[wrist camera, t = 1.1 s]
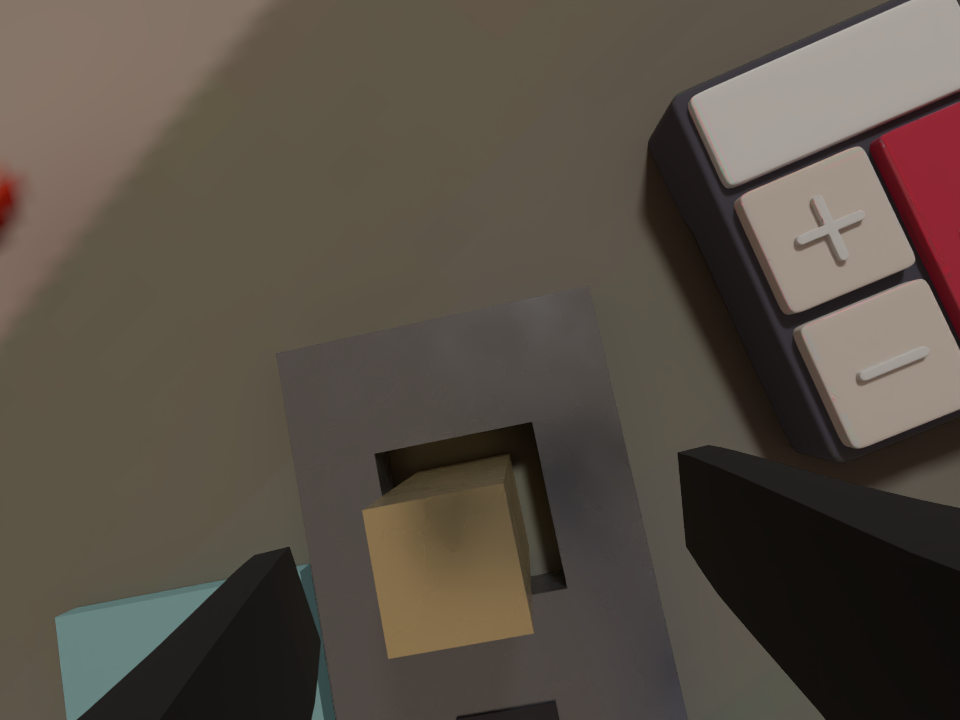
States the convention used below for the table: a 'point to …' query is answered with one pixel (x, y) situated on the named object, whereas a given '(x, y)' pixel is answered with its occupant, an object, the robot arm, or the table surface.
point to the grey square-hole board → (571, 495)
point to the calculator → (835, 221)
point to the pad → (143, 641)
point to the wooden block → (451, 558)
